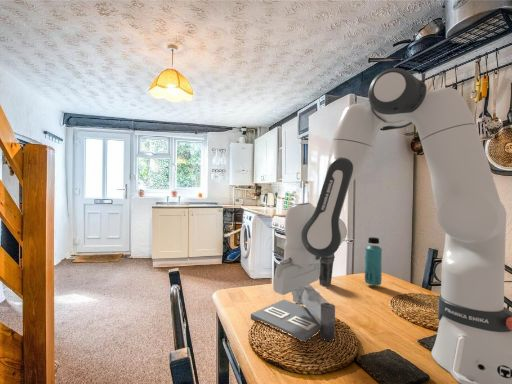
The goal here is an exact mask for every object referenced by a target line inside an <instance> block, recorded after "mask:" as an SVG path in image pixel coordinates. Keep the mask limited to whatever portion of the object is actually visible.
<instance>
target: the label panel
mask: <svg viewBox="0 0 512 384" xmlns="http://www.w3.org/2000/svg"><path fill="white" fill-rule="evenodd" d="M250 319H252V320H254V321H256V320H260V321H263V322H265V323H268V324H270V325H272V326H274V327H277V328H279V329H281V330H283V331H285V332H287V333H289V334H291V335H293V336H294V337H296V338H298V339H300V340H302V341H304V342H305V341H306V340H308V339H309V338H311V337H312V336H313V335H314V334H316V333H317V332H318V331H319V330H320V324H319V323H318V322H317V320H316V319H315V318H314V317H313V315H312V314H311V313H310V312H309V310H308V309H307V308H306V306H303V305H300V304H299V303H296V302H292V301H288V300H286V299H282V300H279V301H277V302H275V303H273V304H270V305H268V306H266V307H264V308H261V309H259V310H256V311H254V312H252V313H250ZM312 338H313V337H312ZM312 338H311V339H312ZM302 341H301V342H302ZM308 341H309V340H308ZM304 342H303V343H304ZM305 343H306V342H305Z"/></svg>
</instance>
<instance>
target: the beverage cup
mask: <svg viewBox="0 0 512 384" xmlns="http://www.w3.org/2000/svg"><path fill="white" fill-rule="evenodd" d="M335 258H336V257H335V253H334V254H332V255H330V256H327V257H321V259H320V277H319V279H318V282H319V285H320V286H323V287H329V286H331V285H332V283H331V282H332V279H333V270H334V269H333V267H334V261H335Z"/></svg>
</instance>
